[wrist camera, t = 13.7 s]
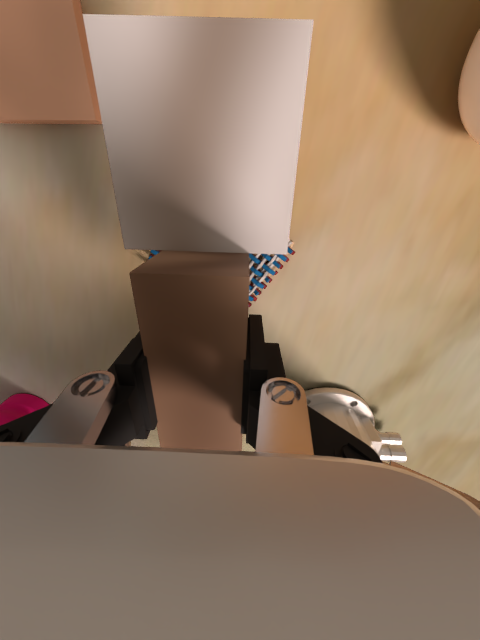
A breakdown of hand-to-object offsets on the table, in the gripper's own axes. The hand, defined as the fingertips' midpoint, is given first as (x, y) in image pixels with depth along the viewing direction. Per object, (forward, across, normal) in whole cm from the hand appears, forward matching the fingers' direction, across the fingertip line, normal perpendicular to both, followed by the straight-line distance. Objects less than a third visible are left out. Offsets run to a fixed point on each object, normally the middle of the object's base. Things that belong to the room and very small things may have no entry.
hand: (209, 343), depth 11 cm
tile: (+14, +14, -10) cm, 22 cm away
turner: (0, 0, -3) cm, 3 cm away
